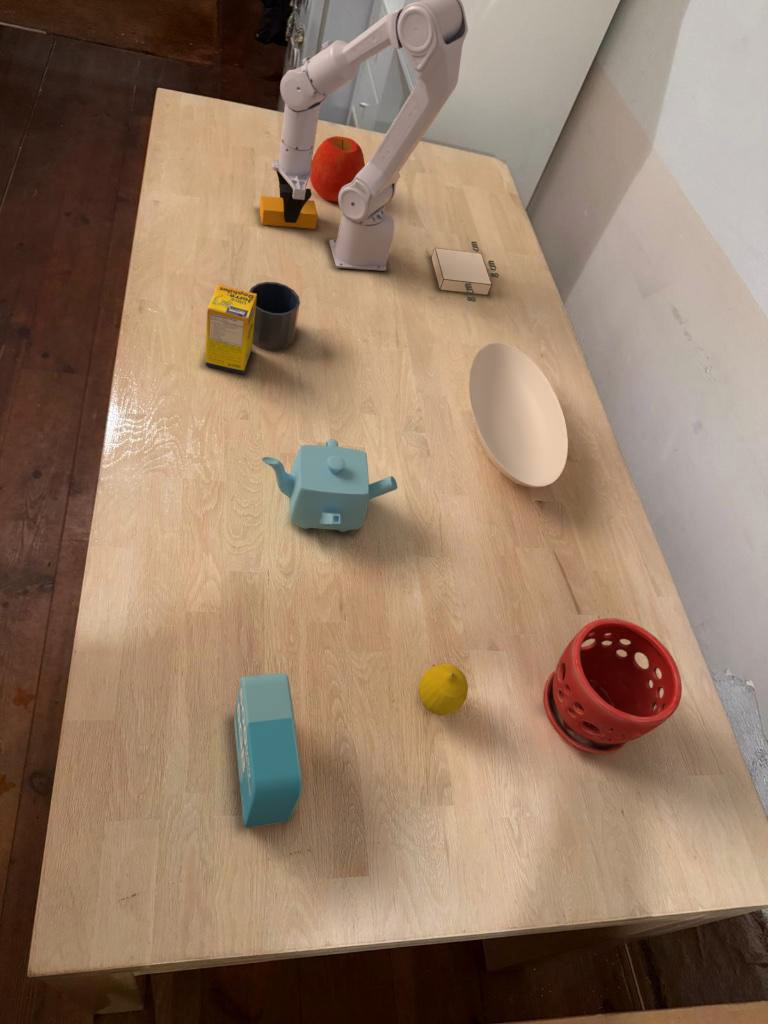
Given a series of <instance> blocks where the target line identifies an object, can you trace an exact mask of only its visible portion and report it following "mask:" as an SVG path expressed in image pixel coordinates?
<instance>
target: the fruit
mask: <svg viewBox="0 0 768 1024" xmlns="http://www.w3.org/2000/svg"><path fill="white" fill-rule="evenodd" d="M468 691H469V684H468V681H467V677H466V675H465V674H464V672H463V671H462V670H461V669H460V668H459V667H457V666H455V665H453V664H451V663H439V664H436V665H433V666H431V667H430V668H428V669H427V670H426V671H425V672H424V673H423V674H422V676H421V678H420V681H419V684H418V698H419V700H420V702H421V704H422V706H423V707H424V708H425V709H426V710H427V711H429V713H432V714H433V715H434V714H435V715H436V716H449V715H452V714H454V713H457V712H458V711H459V710H460V709H461V708H462V707H463V705H464V704H465V702H466V700H467V698H468V693H469V692H468Z"/></svg>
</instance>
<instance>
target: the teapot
mask: <svg viewBox="0 0 768 1024" xmlns="http://www.w3.org/2000/svg"><path fill="white" fill-rule="evenodd" d="M261 460H262V462H263V463H265V464H266V465H268V466H269V467H271V468H272V470H273V471H274V473H275V479H276V484H277V487H278V489H279V490H280V492H281V493H282V494H283V495H285V496H286V497H288V505H289V506H288V507H289V519H290V523H291V524H292V525H294V526H298V527H300V528H302V529H304V530H308V529H311V528H312V529H321V530H332V531H335V530H336V531H339V532H347V531H355V530H359V529H361V527H362V526H363V525H364V523H365V520H366V516H367V512H368V507H369V501H370V500H374V499H375V498H378V497H380V496H383V495H386V494H388V493H391V492H393V491H396V490H398V482H397V480H396V478H395V477H394V476H393V475H391V476H388V477H386V478H383V479H380V480H377V481H375V482H372V483H370V482H369V481H370V479H369V467H368V466H369V464H368V456H367V452H366V451H364V450H361V449H356V448H350V447H341V446H339V442H338V441H337V440H336V439H332V438H330V439H327V440H326V442H325V445H322V444H321V445H319V444H303V445H300V447H299V448H298V451H297V453H296V455H295V457H294V459H293V463H292V466H291V470H290V473H288V472H287V471H286V470H285V466H284V464H283V462H281V460H279V459H277V458H274V457H270V456H264V457H262V458H261Z"/></svg>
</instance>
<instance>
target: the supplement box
mask: <svg viewBox="0 0 768 1024" xmlns="http://www.w3.org/2000/svg"><path fill="white" fill-rule="evenodd" d="M256 298H257V294H255V293H251V292H249V291H246V290H243V289H238V288H235V287H230V286H227V285H222V284H217V285H216V287H215V290H214V293H213V294H212V297H211V299H210V302H209V304H208V307H207V310H206V313H207V314H206V335H205V336H206V337H205V366H206V367H210V368H216V369H219V370H223V371H224V370H225V371H227V372H228V371H229V372H233V373H237V374H242V375H244V374H245V371H246V368H247V365H248V362H249V359H250V356H251V353H252V350H253V343H252V342H253V331H254V321H255V310H256Z"/></svg>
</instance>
